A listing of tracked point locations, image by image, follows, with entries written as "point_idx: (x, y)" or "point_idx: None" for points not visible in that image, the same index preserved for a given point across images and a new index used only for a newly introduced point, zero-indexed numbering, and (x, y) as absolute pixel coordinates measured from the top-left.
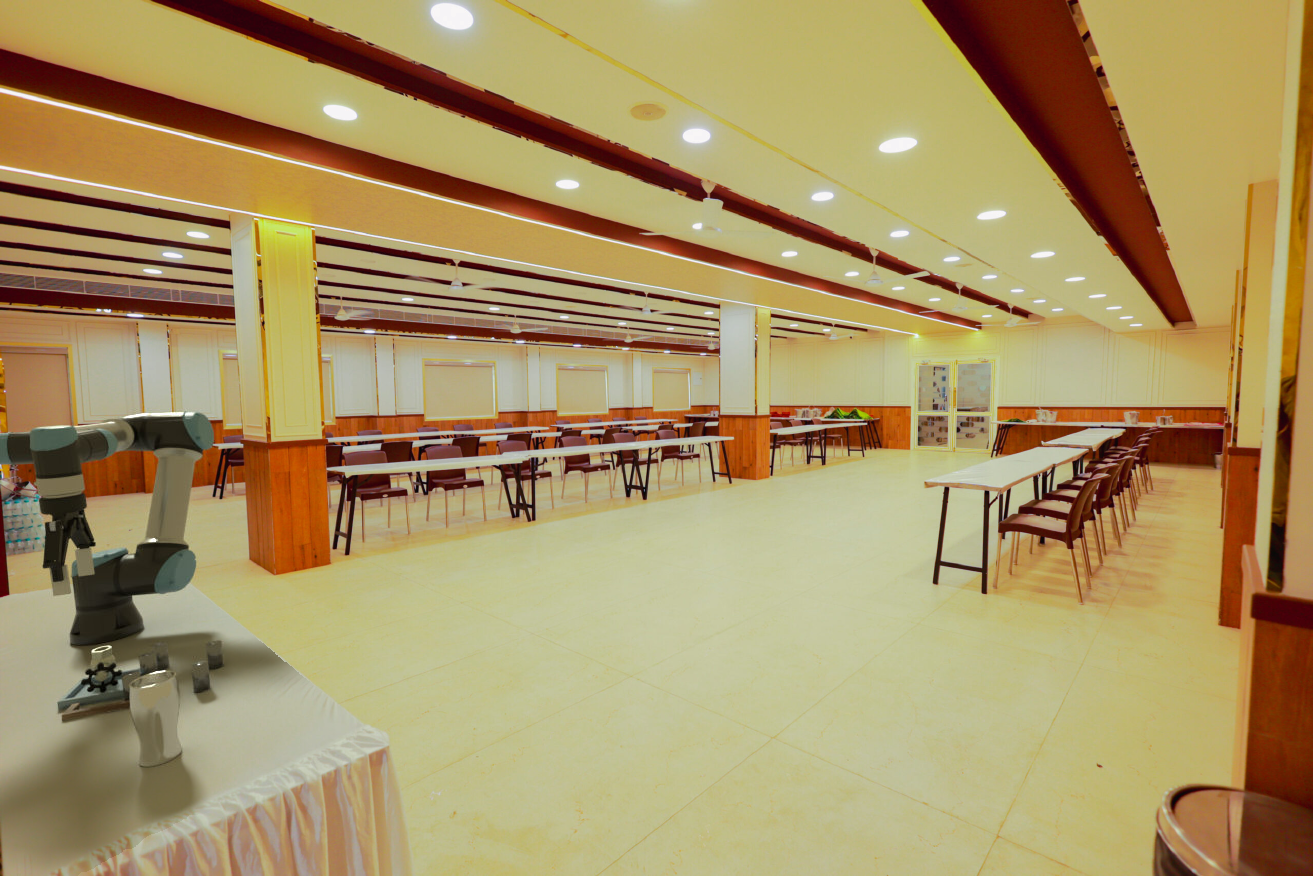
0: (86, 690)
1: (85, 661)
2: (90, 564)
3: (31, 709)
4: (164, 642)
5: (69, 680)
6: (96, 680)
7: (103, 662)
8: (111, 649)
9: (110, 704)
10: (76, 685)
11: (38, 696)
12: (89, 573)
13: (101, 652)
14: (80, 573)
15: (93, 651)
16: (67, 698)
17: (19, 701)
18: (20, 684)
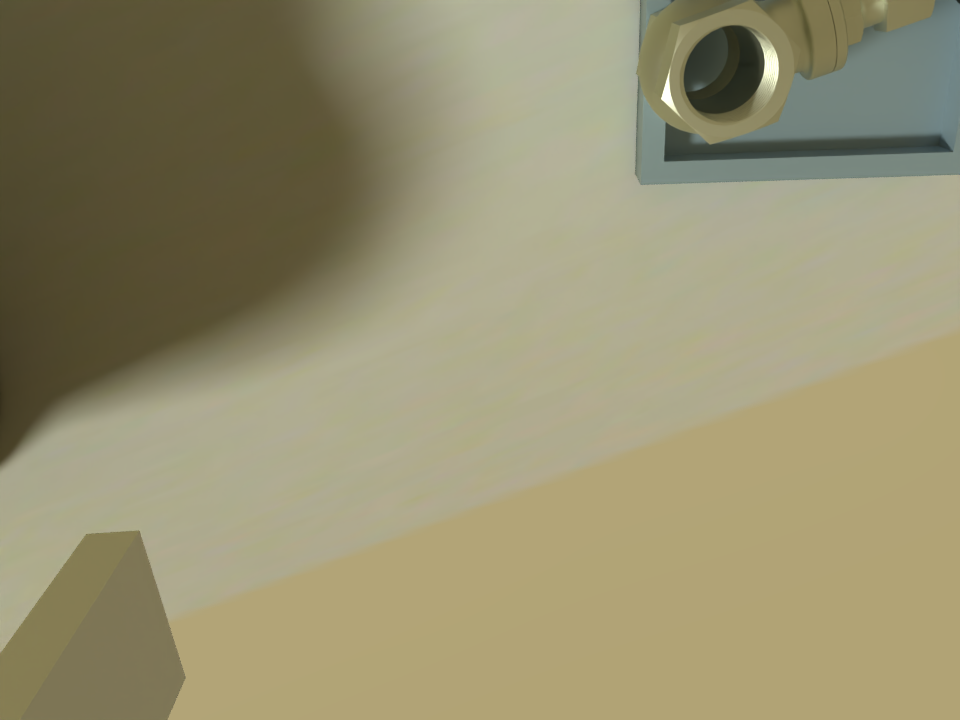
0: None
1: (249, 311)
2: (60, 689)
3: (845, 303)
4: None
5: (515, 280)
6: None
7: (843, 12)
8: (723, 8)
9: None
10: (757, 169)
11: (675, 341)
12: (143, 588)
13: (800, 49)
14: (161, 692)
15: (761, 116)
16: (906, 150)
17: (695, 399)
18: (461, 483)
